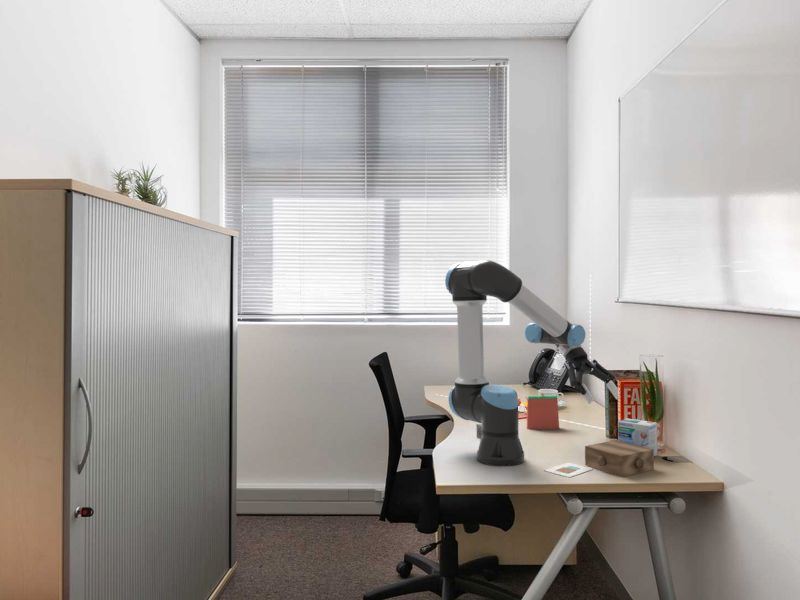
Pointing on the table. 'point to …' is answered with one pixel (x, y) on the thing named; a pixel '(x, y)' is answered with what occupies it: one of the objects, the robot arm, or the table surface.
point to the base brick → (619, 457)
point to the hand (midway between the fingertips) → (605, 399)
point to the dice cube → (479, 430)
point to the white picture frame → (568, 470)
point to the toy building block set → (541, 412)
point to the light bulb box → (638, 433)
